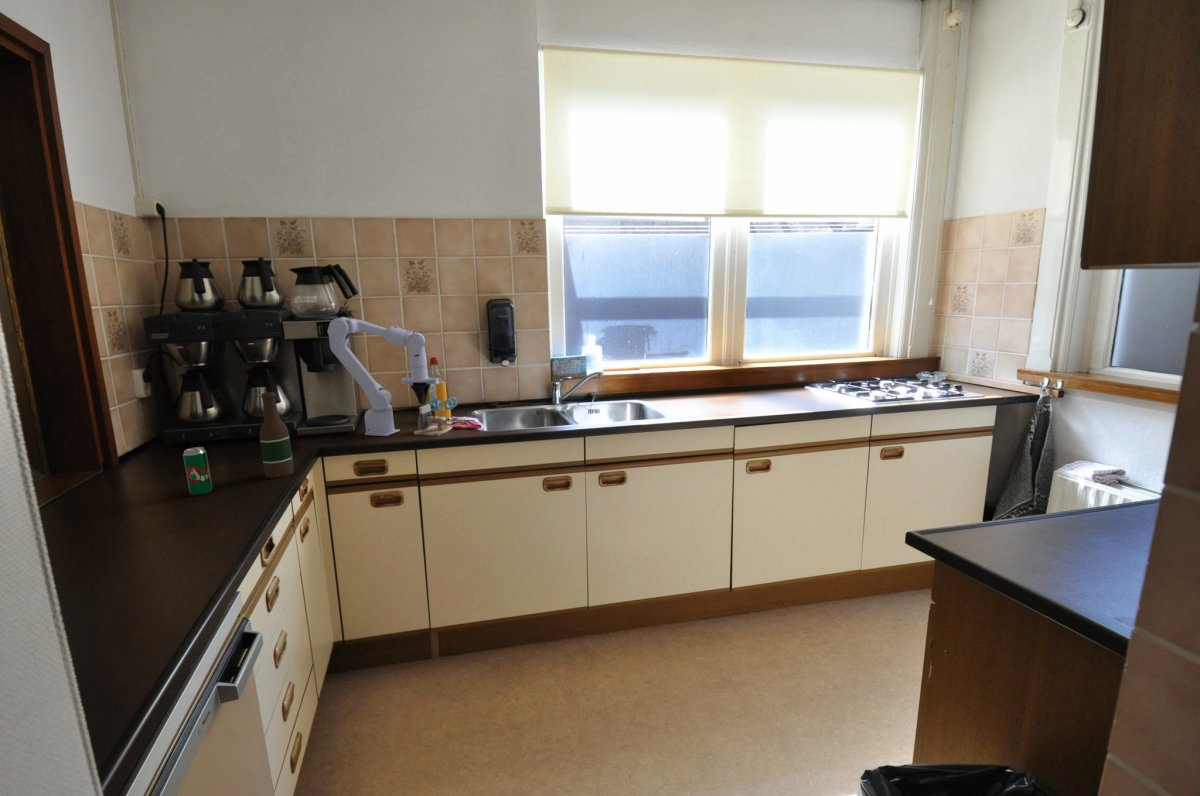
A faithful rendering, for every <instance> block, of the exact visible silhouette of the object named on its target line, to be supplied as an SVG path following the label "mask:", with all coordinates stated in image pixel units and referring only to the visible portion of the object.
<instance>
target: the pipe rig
mask: <svg viewBox="0 0 1200 796" xmlns="http://www.w3.org/2000/svg"><path fill="white" fill-rule="evenodd" d="M424 417H425V424H426V423H432V424H434V425H431V426H429V427H427V428H424V429H422V428H421V423H420V415H419V416H418V420H417V429H416V430H414V431H413V435H418V436H419V435H420V436H422V435H423V436H434V435H436V436H435V437H439V436H441V435H443V434H446V433H447V432H450V431H452V430H453V427H452V426H448V421H447V419H446V418H445V417H438V416H435V415H434V416H433V415H432V416H427V415H426V416H424ZM436 424H437V425H436ZM451 429H452V430H451ZM449 430H450V431H449ZM440 434H441V435H440ZM438 435H439V436H438Z"/></svg>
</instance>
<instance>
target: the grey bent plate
mask: <svg viewBox="0 0 1200 796" xmlns="http://www.w3.org/2000/svg"><path fill="white" fill-rule="evenodd" d="M431 405H432V404H431V403H429V404H427V403H426V404H423V405H422V406H419V408H418V409H419V416H420V423H421V428H422V429H424V428H427V427H429V426H434V425H433V424H434V423H426V424H425V417H424V416H433V415H432V410H431V409H432V406H431Z"/></svg>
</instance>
